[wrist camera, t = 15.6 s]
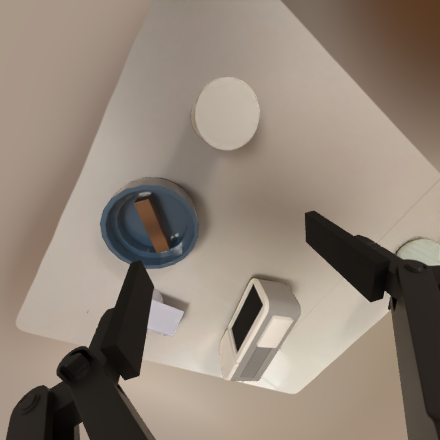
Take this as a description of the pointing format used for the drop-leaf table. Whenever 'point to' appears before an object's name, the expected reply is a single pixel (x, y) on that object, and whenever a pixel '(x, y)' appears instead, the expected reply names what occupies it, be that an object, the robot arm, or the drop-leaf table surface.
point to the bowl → (135, 230)
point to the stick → (153, 222)
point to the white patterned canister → (226, 113)
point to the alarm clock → (257, 329)
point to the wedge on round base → (163, 316)
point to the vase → (421, 251)
